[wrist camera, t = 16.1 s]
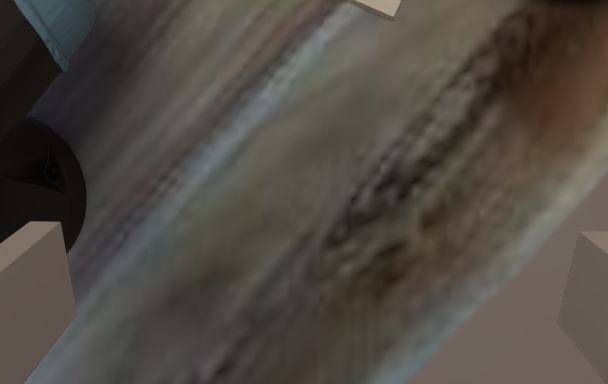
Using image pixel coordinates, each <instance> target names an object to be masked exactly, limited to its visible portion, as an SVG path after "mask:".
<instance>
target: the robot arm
mask: <svg viewBox="0 0 608 384" xmlns="http://www.w3.org/2000/svg"><path fill="white" fill-rule="evenodd" d="M95 18H96V12H95V6H94V3H93V0H0V384H23V383H24V382H25V381H26V379H27V378H28V377H29V376H30V374H31V373H32V372H33V370H34V369H35V368H36V367H37V365H38V364H39V363H40V361H41V360H42V359H43V357H44V356H45V355H46V354H47V352H48V351H49V350H50V348H51V347H52V346H53V345H54V343H55V342H56V341H57V339H58V338H59V337H60V335H61V334H62V333H63V332H64V330H65V329H66V328H67V326H68V325H69V324H70V323H71V321H72V320H73V319H74V317H75V316H76V315H77V311H76V306H75V300H74V294H73V289H72V283H71V278H70V272H69V266H68V261H67V255H66V253H67V252H68V251H69V249H70V248H71V246H72V245H73V243H74V242H75V240H76V238H77V236H78V234H79V231H80V229H81V226H82V223H83V219H84V214H85V205H86V193H85V184H84V179H83V175H82V172H81V169H80V166H79V164H78V162H77V159H76V158H75V156H74V154H73V152H72V151H71V149H70V148H69V146H68V145H67V144H66V143H65V141H64V140H63V139H62V138H61V137H60V136H59V135H58V134H57V133H56V132H54V131H53V130H52V129H51V128H49V127H48V126H46V125H44V124H43V123H41V122H39V121H37V120H35V119H32V118H29V117H26V115H27V114H28V112H29V111H30V110H31V109H32V107H33V106H34V105H35V104H36V102H37V101H38V100H39V98H40V97H41V96H42V95H43V93H44V92H45V91H46V90H47V88H48V87H49V86H50V85H51V83H52V82H53V81H54V80H55V78H56V77H57V76H58V75H59V73H60V72H62V73H66V72H67V70H68V69H69V61H70V60H71V58H72V57H73V55H74V54H75V53H76V51H77V50H78V48H79V47H80V46H81V44H82V43H83V42H84V40H85V39H86V37H87V36H88V35H89V33H90V32H91V30H92V28H93V26H94V23H95ZM557 323H558V325H559V326H560V327H561V328H562V330H563V331H564V332H565V333H566V335H567V336H568V337H569V338H570V340H571V341H572V342H573V343H574V344H575V346H576V347H577V348H578V349H579V351H580V352H581V353H582V354H583V356H584V357H585V358H586V359H587V360H588V362H589V363H590V364H591V365H592V367H593V368H594V369H595V370H596V372H598V374H599V375H600V377H601V378H602V379H603V380H604V381H605V383H606V384H608V232H591V231H589V232H588V231H579V234H578V238H577V242H576V246H575V250H574V254H573V258H572V263H571V267H570V271H569V275H568V279H567V284H566V287H565V291H564V296H563V300H562V304H561V308H560V312H559V316H558V320H557Z"/></svg>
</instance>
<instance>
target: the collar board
mask: <svg viewBox="0 0 608 384" xmlns="http://www.w3.org/2000/svg"><path fill="white" fill-rule="evenodd" d="M345 1H348V2H350V3H352V4H355V5H357V6H359V7H361V8H364V9H366V10H368V11H371V12H373V13H375V14H377V15H380V16H382V17H384V18H387V19H389V20H391V21H393V19H394V17H395V15H396V12H397V10H398V8H399V6H400V4H401V2H402V0H345Z"/></svg>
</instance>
